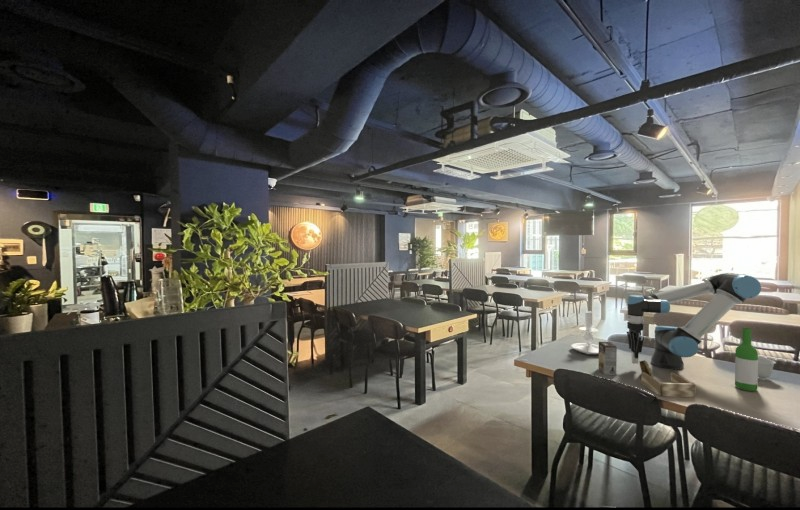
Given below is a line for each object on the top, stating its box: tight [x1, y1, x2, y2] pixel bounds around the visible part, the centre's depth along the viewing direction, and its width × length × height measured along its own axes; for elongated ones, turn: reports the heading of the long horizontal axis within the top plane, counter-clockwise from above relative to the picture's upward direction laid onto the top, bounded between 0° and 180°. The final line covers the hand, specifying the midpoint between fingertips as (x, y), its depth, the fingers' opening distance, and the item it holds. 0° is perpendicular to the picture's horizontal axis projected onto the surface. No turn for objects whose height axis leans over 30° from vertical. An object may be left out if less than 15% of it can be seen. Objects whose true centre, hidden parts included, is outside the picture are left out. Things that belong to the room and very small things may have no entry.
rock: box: [638, 359, 654, 378], centre depth 177 cm, size 11×9×10 cm
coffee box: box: [598, 341, 618, 376], centre depth 186 cm, size 9×6×16 cm
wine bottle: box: [734, 327, 759, 392], centre depth 162 cm, size 8×8×30 cm
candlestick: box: [570, 310, 599, 355], centre depth 217 cm, size 21×25×28 cm
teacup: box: [758, 355, 777, 381], centre depth 175 cm, size 12×15×10 cm
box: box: [640, 372, 696, 398], centre depth 162 cm, size 15×14×6 cm
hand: (634, 362), depth 188 cm, fingers closed
